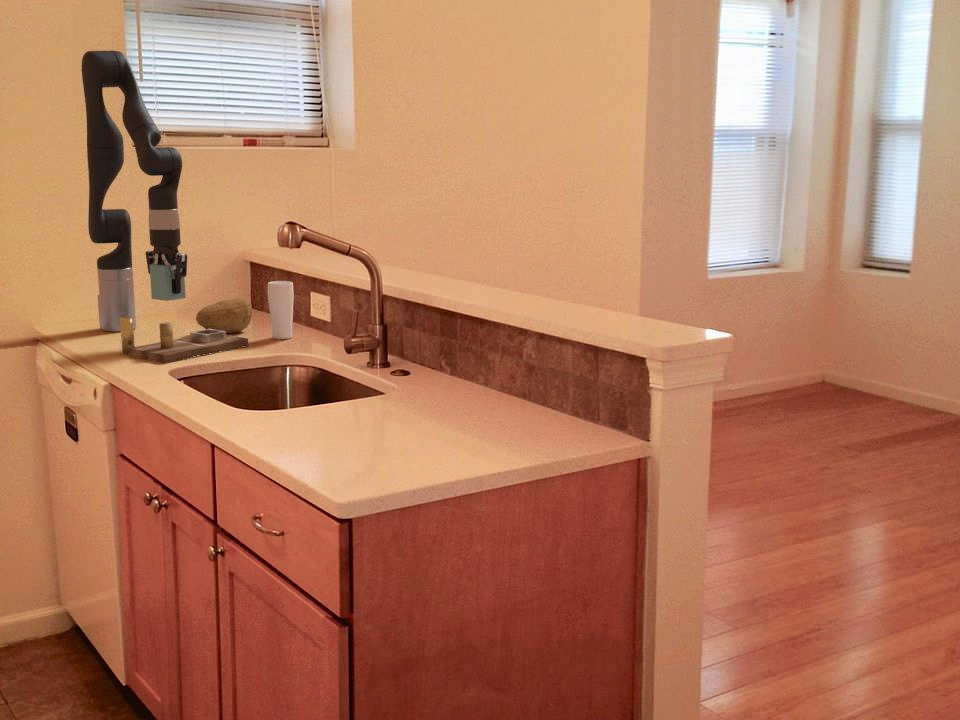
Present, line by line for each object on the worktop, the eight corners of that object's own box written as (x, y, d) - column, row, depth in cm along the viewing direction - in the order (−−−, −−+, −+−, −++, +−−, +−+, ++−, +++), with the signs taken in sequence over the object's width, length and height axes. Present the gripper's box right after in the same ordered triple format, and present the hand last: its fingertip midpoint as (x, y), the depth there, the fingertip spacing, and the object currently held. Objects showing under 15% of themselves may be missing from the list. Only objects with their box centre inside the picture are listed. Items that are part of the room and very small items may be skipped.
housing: (151, 298, 277) (149, 264, 275) (170, 296, 282) (168, 262, 280) (166, 300, 274) (164, 266, 272) (185, 298, 279) (183, 264, 277)
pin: (119, 353, 268) (117, 318, 267) (130, 351, 271) (127, 316, 269) (127, 355, 267) (125, 319, 265) (137, 353, 269) (135, 317, 267)
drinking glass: (298, 336, 292) (296, 281, 289) (291, 340, 285) (289, 284, 282) (273, 335, 293) (271, 280, 289) (266, 340, 286) (264, 284, 283)
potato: (193, 332, 296) (191, 299, 294) (249, 328, 303) (247, 295, 301) (200, 338, 289) (198, 303, 287) (257, 333, 296) (256, 299, 294)
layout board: (129, 356, 266) (127, 324, 264) (212, 339, 286) (210, 310, 284) (166, 363, 258) (164, 330, 256) (248, 346, 278) (247, 315, 276)
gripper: (134, 226, 275) (138, 291, 279) (170, 229, 267) (174, 296, 270) (158, 224, 281) (162, 288, 285) (194, 227, 273) (198, 293, 276)
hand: (168, 292), depth 278 cm, fingers closed on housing, 6 cm apart
